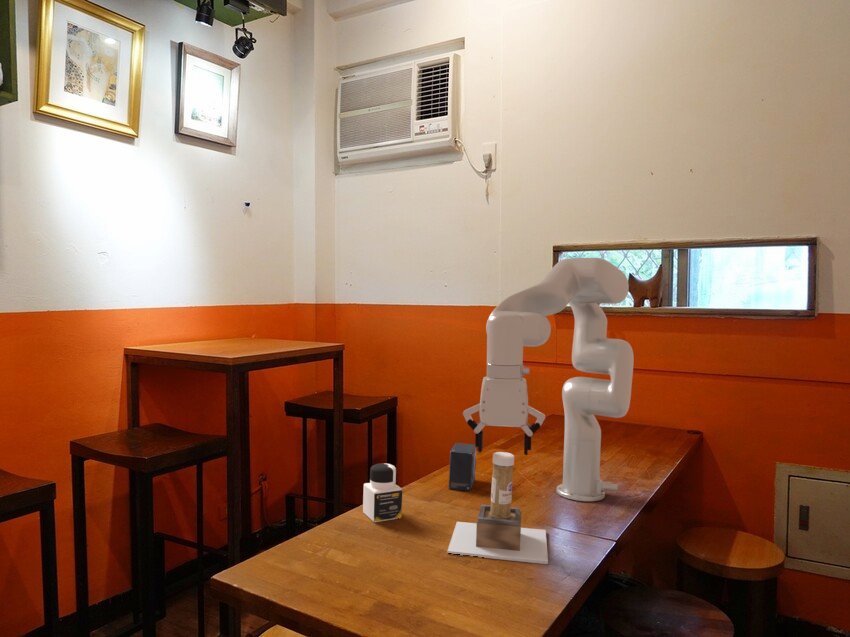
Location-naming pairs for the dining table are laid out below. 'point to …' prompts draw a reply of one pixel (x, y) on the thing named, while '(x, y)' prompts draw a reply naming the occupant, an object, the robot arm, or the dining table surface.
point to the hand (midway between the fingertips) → (503, 451)
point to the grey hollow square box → (498, 530)
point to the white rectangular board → (530, 549)
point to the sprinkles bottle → (501, 485)
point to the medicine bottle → (382, 494)
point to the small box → (462, 466)
